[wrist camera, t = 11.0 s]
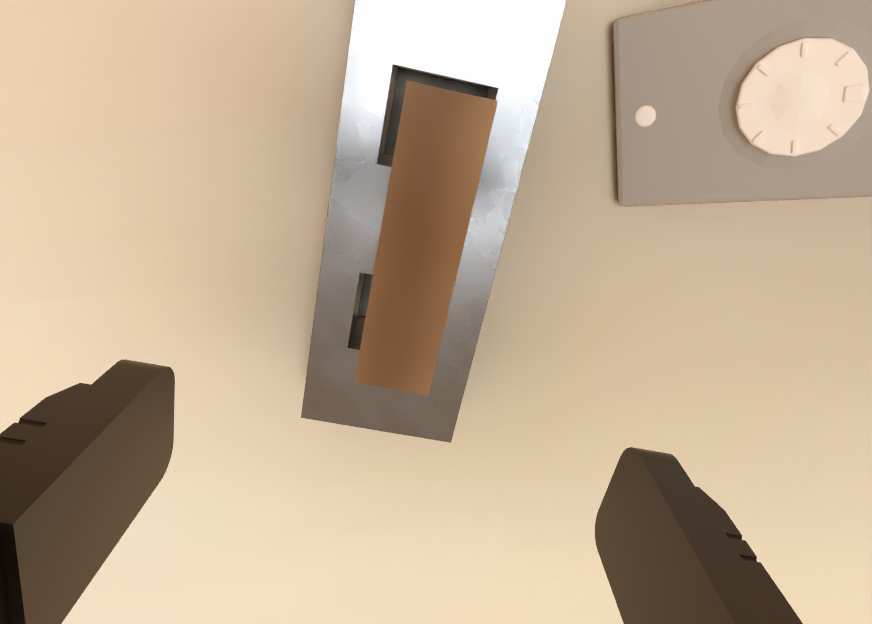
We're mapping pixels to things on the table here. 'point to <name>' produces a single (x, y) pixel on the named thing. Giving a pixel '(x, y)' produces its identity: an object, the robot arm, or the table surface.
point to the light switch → (744, 102)
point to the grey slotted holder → (369, 178)
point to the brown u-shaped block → (422, 234)
